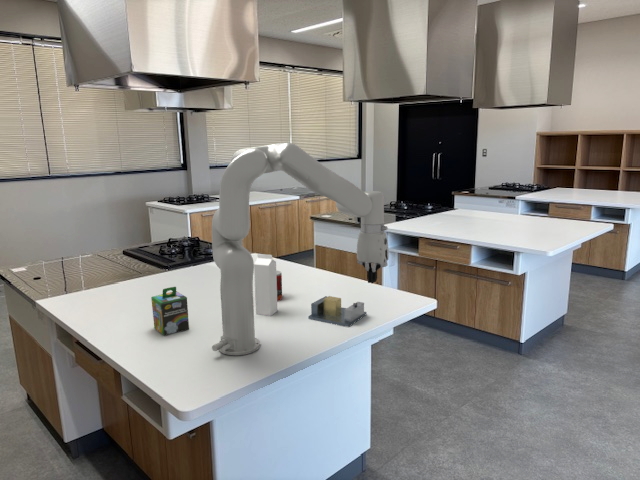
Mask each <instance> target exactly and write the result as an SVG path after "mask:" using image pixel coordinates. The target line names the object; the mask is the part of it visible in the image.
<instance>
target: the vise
mask: <svg viewBox="0 0 640 480" xmlns="http://www.w3.org/2000/svg"><path fill="white" fill-rule="evenodd" d="M326 297H328V296H324V297H322V298H319V299H318V300H316V301H314V302H311V303H310V308H311V309H310V311H311V313H310V315H308V320H312V321H318V322H322V323H327V324H331V323H332V325H336V324H337V326H341V325H343V326H342V327H345V326H349V327H351V326H352V325H354V324H355V323H356V322H358V321H359V320H361V319H362V318H363V317H362V316H364V315H365V314H366V315H367V311H364V314H362V315H361V316H359V317H358V318H356V319H355V320H353V321H352V322H348V321H345V309H347V308H348V307H347V308H346V307H343V306H341V313H340V314H338V315H337V316H333V315H328V314H324V299H325V298H326ZM366 315H365V316H366ZM365 316H364V317H365ZM361 317H362V318H361ZM360 318H361V319H360ZM358 319H359V320H358ZM357 320H358V321H357ZM355 321H356V322H355ZM354 322H355V323H354ZM353 323H354V324H353ZM351 324H352V325H351ZM350 325H351V326H350Z"/></svg>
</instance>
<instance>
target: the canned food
mask: <svg viewBox="0 0 640 480" xmlns="http://www.w3.org/2000/svg"><path fill="white" fill-rule="evenodd" d="M276 277H277V302H279V301H281V300H282V298H283V275H282V271H280V270H277V269H276Z"/></svg>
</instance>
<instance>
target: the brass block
mask: <svg viewBox="0 0 640 480" xmlns="http://www.w3.org/2000/svg"><path fill="white" fill-rule="evenodd" d="M341 307H342V298H341V297H336V296H331V295H329V296H327V297H326V298H325V299H324V314H328V315H333V316H337V315H338V314H340V313H341Z"/></svg>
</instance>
